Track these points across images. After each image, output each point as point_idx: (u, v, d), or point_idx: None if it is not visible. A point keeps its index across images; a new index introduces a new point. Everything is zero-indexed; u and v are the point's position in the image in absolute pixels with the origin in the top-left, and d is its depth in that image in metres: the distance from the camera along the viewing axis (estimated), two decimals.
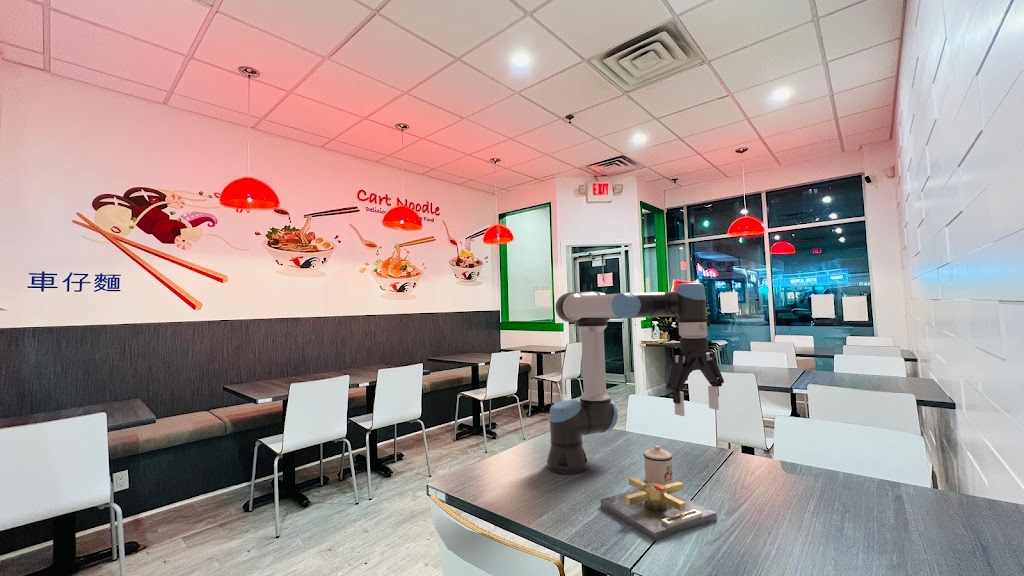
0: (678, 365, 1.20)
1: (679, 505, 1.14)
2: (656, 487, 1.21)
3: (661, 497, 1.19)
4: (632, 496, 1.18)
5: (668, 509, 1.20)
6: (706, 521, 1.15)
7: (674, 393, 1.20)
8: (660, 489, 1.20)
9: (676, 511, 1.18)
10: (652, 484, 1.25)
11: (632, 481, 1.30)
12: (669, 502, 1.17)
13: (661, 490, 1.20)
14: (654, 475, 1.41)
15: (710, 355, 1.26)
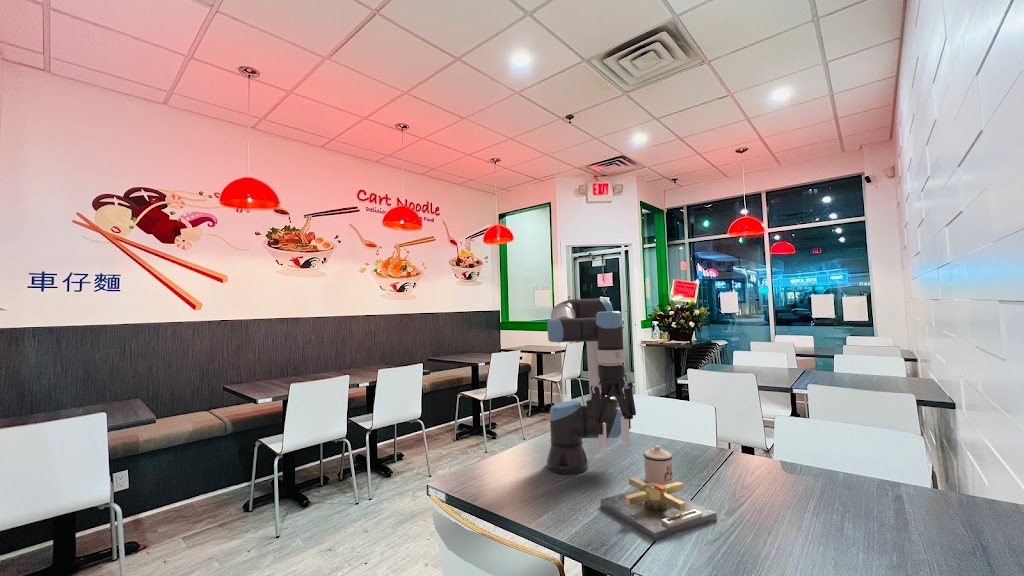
0: (595, 396, 1.23)
1: (679, 505, 1.14)
2: (656, 487, 1.21)
3: (661, 497, 1.19)
4: (632, 496, 1.18)
5: (668, 509, 1.20)
6: (706, 521, 1.15)
7: (597, 424, 1.23)
8: (660, 489, 1.20)
9: (676, 511, 1.18)
10: (652, 484, 1.25)
11: (632, 481, 1.30)
12: (669, 502, 1.17)
13: (661, 490, 1.20)
14: (654, 475, 1.41)
15: (628, 384, 1.28)
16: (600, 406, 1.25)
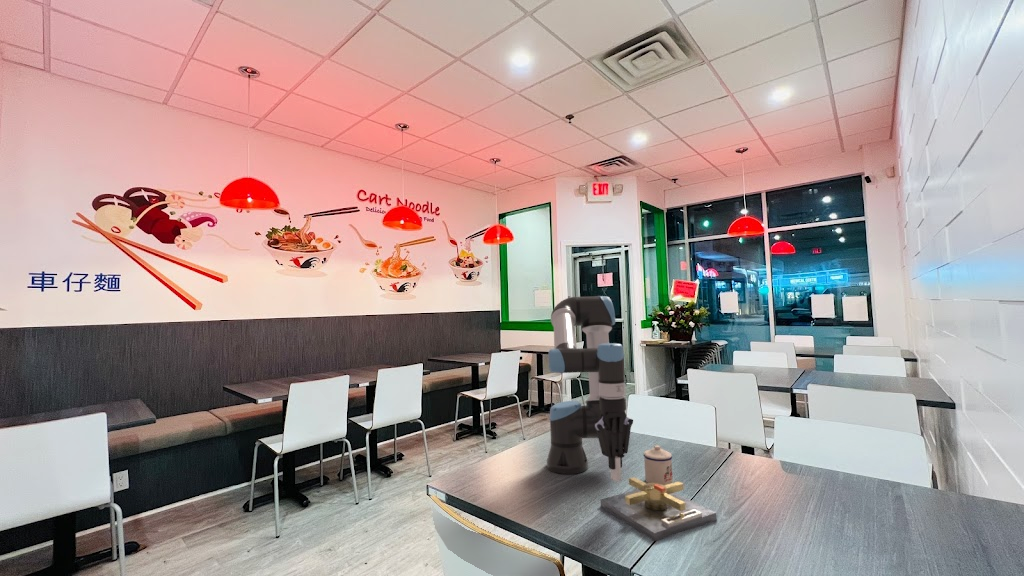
0: (601, 434, 1.22)
1: (679, 505, 1.14)
2: (656, 487, 1.21)
3: (661, 497, 1.19)
4: (632, 496, 1.18)
5: (668, 509, 1.20)
6: (706, 521, 1.15)
7: (609, 459, 1.24)
8: (660, 489, 1.20)
9: (676, 511, 1.18)
10: (652, 484, 1.25)
11: (632, 481, 1.30)
12: (669, 502, 1.17)
13: (661, 490, 1.20)
14: (654, 475, 1.41)
15: (629, 420, 1.27)
16: (608, 441, 1.25)
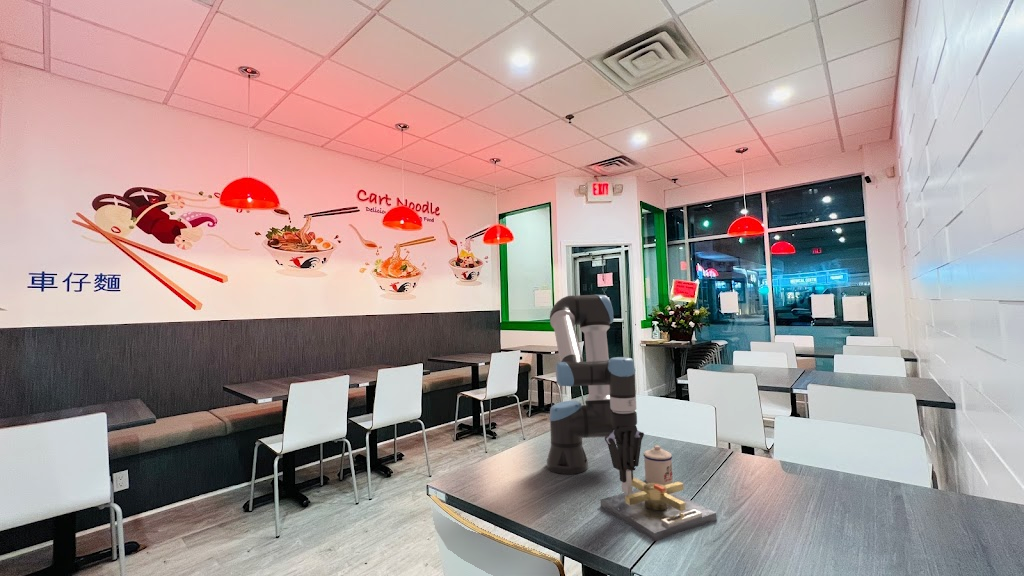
0: (612, 447, 1.24)
1: (679, 505, 1.14)
2: (656, 487, 1.21)
3: (661, 497, 1.19)
4: (632, 496, 1.18)
5: (668, 509, 1.20)
6: (706, 521, 1.15)
7: (620, 472, 1.26)
8: (660, 489, 1.20)
9: (676, 511, 1.18)
10: (652, 484, 1.25)
11: (632, 481, 1.30)
12: (669, 502, 1.17)
13: (661, 490, 1.20)
14: (654, 475, 1.41)
15: (639, 433, 1.29)
16: (619, 454, 1.26)
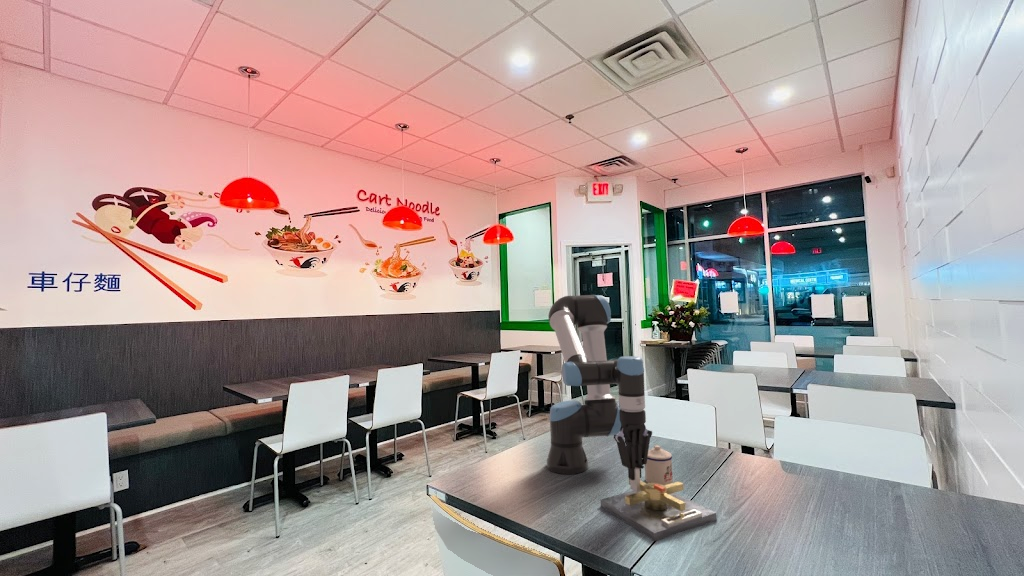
0: (621, 445, 1.26)
1: (679, 505, 1.14)
2: (656, 487, 1.21)
3: (661, 497, 1.19)
4: (632, 496, 1.18)
5: (668, 509, 1.20)
6: (706, 521, 1.15)
7: (629, 470, 1.27)
8: (660, 489, 1.20)
9: (676, 511, 1.18)
10: (652, 484, 1.25)
11: None
12: (669, 502, 1.17)
13: (661, 490, 1.20)
14: (654, 475, 1.41)
15: (648, 432, 1.30)
16: (628, 452, 1.28)
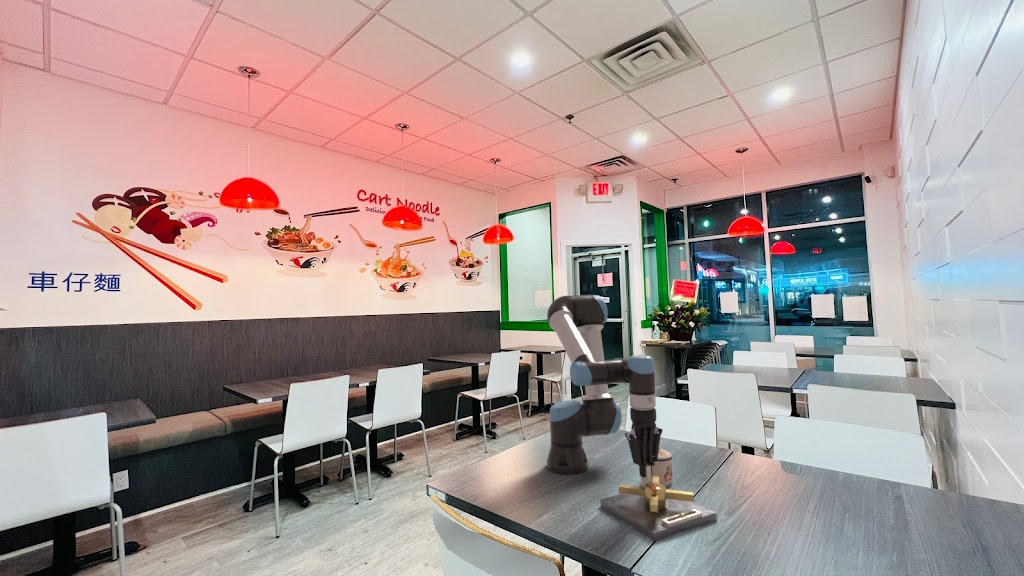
0: (633, 443, 1.27)
1: (650, 505, 1.14)
2: None
3: (651, 496, 1.20)
4: (623, 487, 1.25)
5: (668, 509, 1.20)
6: (706, 521, 1.15)
7: (640, 467, 1.29)
8: (652, 489, 1.20)
9: (676, 511, 1.18)
10: (657, 485, 1.24)
11: None
12: None
13: (652, 490, 1.20)
14: (654, 475, 1.41)
15: (658, 430, 1.32)
16: (639, 450, 1.30)
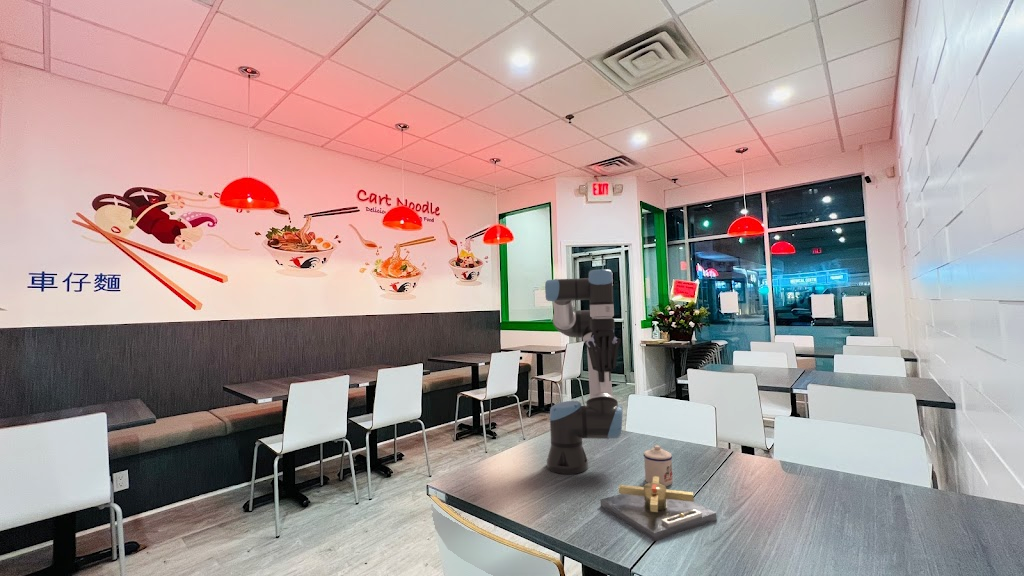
0: (592, 349, 1.35)
1: (650, 505, 1.14)
2: None
3: (651, 496, 1.20)
4: (623, 487, 1.25)
5: (668, 509, 1.20)
6: (706, 521, 1.15)
7: (599, 373, 1.37)
8: (652, 489, 1.20)
9: (676, 511, 1.18)
10: (657, 485, 1.24)
11: None
12: None
13: (652, 490, 1.20)
14: (654, 475, 1.41)
15: (617, 339, 1.40)
16: (598, 357, 1.37)
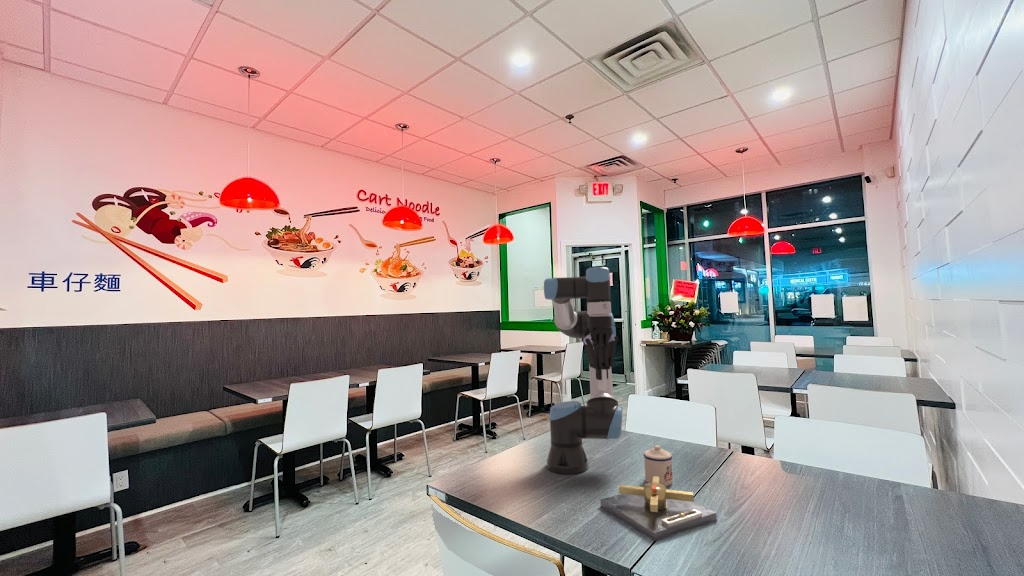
0: (589, 347, 1.35)
1: (650, 505, 1.14)
2: None
3: (651, 496, 1.20)
4: (623, 487, 1.25)
5: (668, 509, 1.20)
6: (706, 521, 1.15)
7: (596, 371, 1.37)
8: (652, 489, 1.20)
9: (676, 511, 1.18)
10: (657, 485, 1.24)
11: None
12: None
13: (652, 490, 1.20)
14: (654, 475, 1.41)
15: (614, 337, 1.40)
16: (595, 355, 1.38)
